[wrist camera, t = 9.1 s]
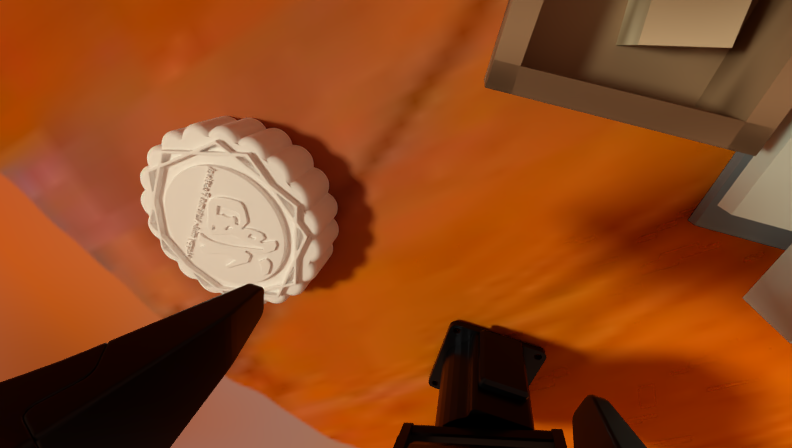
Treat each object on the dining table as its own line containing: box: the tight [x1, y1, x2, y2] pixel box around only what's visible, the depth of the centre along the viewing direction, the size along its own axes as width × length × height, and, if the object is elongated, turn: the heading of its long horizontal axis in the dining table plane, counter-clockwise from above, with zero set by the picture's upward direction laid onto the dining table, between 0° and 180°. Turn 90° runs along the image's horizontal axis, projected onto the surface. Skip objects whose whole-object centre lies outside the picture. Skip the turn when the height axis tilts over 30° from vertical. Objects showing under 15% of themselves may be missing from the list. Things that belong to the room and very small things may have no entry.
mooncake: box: [140, 116, 339, 304], centre depth 22 cm, size 12×12×4 cm
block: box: [616, 0, 752, 48], centre depth 13 cm, size 3×3×2 cm
